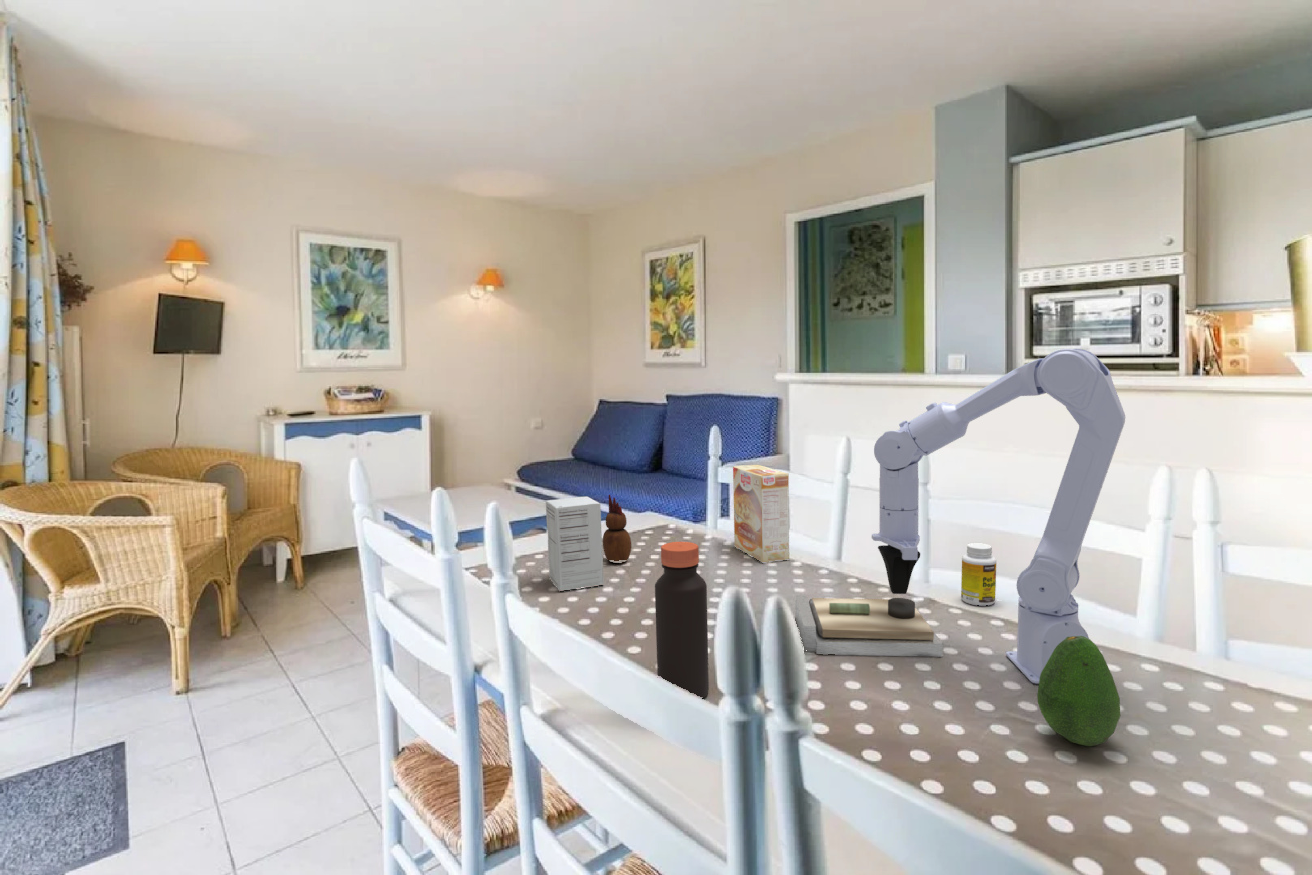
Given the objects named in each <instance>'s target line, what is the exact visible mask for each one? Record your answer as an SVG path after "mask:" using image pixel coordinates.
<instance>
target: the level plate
mask: <svg viewBox="0 0 1312 875" xmlns="http://www.w3.org/2000/svg"><path fill="white" fill-rule="evenodd" d="M808 603H809V605H810V608H811V611H812V614H813V617H814V621H815V624H816V627H817V630H818V633H819V635H821V636H823V637H836V638H877V639H917V640H934V633H935V631H934V630H933V628H932V627H931V626H930V625H929V623H928V622H927V621H926V619H925V618H924V616H922V614H921V613H920V611H919V609H917V607H916V602H915V601H914V600H912V599H909V598H904V597H903V598H902V597H892V598H889V599H888V598H887V599H885V598H843V597H842V598H841V597H840V598H836V597H834V598H833V597H832V598H831V597H829V598H828V597H826V598H825V597H812V598H810V599H809V600H808ZM924 619H925V620H924ZM927 623H928V624H927ZM930 627H931V628H930ZM933 631H934V632H933Z"/></svg>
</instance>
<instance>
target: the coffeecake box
mask: <svg viewBox="0 0 1312 875" xmlns="http://www.w3.org/2000/svg"><path fill="white" fill-rule="evenodd" d="M732 474H733V475H732V477H733V480H732V481H733V483H732V484H733V487H732V488H733V532H734V534H733V535H734V537H733V538H734V545H735V546H736V547H737V548H740V549H741V550H742V551H744V552H746V553H748V554H749V555H751V556H753V557H754V558H756V559H757V560H760V561H761V562H769V561H775V560H785V559H789V560H790V499H789V498H790V497H789V496H790V495H789V493H790V492H789V491H790V490H789V487H790V486H789V483H790V482H789V481H790V480H789V479H790V478H789V473H787V472H783V471H781V470H778V469H775V468H771V467H767V466H764V465H760V464H749V465H748V464H746V465H742V464H741V465H734V466H733V467H732ZM737 548H736V549H737ZM742 551H741V552H742ZM744 552H743V553H744ZM749 555H748V556H749ZM754 558H753V559H754ZM756 559H755V560H756ZM757 560H756V561H757ZM761 562H760V563H761Z"/></svg>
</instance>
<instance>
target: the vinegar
mask: <svg viewBox="0 0 1312 875" xmlns="http://www.w3.org/2000/svg"><path fill="white" fill-rule="evenodd" d="M699 548H700V547H699V545H698V544H696V543H694V542H690V541H672V542H667V543H663V544H662V545H661V546H660V561H661V567H662V569H663V574H662V575H661V576H660V577H658V579H657V580H656V582H655V584H654V599H655V600H654V601H655V602H654V604H655V635H656V636H655V637H656V639H655V640H656V669H657V671H656V673H657V675H658V676H661V677H662V678H663V679H665V680H667V681H669V682H671V683H672V684H676V685H677V686H679V687H681V688H683V689H686V690H688V691H689V692H690V693H694V694H696V695H697V696H700V697H703V699H705V698H706V697H707V696H708V694H709V689H710V684H709V681H710V679H709V676H710V675H709V640H708V639H709V638H708V627H709V626H708V595H707V594H708V590H707V588H708V587H707V586H708V585H707V582H706V581H705V579H704V578H703V577H702V576H701V574H699V573H698V572H697V569H698V568H699V562H700V554H699V552H700V550H699Z"/></svg>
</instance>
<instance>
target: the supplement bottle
mask: <svg viewBox="0 0 1312 875" xmlns="http://www.w3.org/2000/svg"><path fill="white" fill-rule="evenodd" d="M992 548H993V547H992V546H991V545H990V544H987V543H981V542H971V543H968V544H967V545H966V553H965V554H963V555H962V558H961V583H960V585H961V586H960V587H961V588H960V589H961V590H960V597H961V600H962V602H964V603H967V604H969V605H973V606H977V605H979V606H978V607H980V606H982V607H986V605H988V606H991V605H993V604H995V602H996V590H997V589H996V588H997V584H996V583H997V559H996V557H995V556H993V555H992V554H993V549H992Z"/></svg>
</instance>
